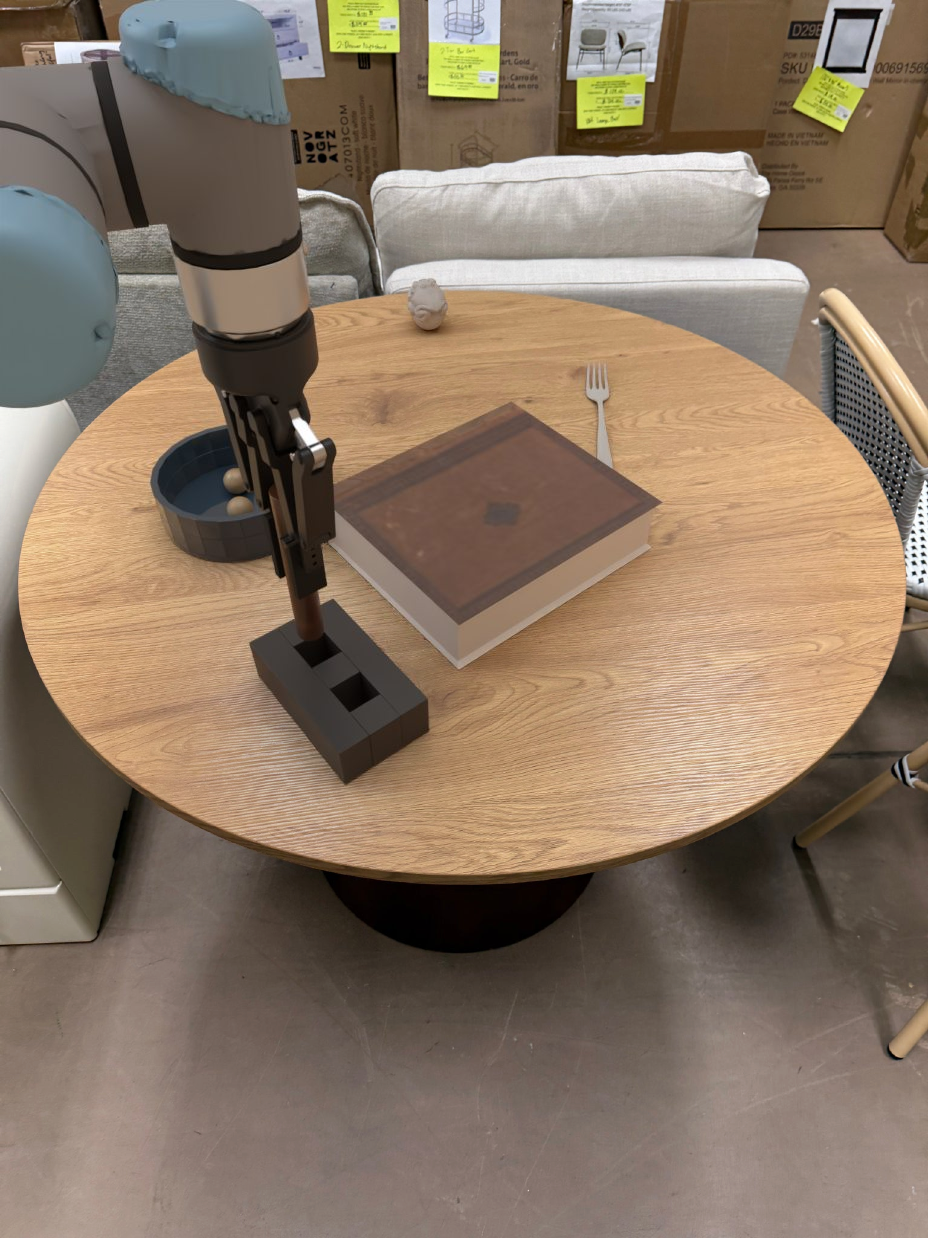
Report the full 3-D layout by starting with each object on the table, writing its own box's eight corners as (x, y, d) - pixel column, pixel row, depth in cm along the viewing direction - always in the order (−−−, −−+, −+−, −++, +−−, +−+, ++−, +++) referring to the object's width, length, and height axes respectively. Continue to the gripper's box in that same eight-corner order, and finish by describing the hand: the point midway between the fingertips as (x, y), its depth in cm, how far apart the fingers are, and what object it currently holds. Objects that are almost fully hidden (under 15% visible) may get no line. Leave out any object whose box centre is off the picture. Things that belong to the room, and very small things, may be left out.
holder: (345, 785, 71) (339, 754, 67) (258, 675, 79) (248, 642, 75) (429, 730, 75) (428, 698, 71) (338, 631, 83) (333, 597, 79)
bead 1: (233, 502, 95) (228, 482, 93) (221, 489, 96) (216, 469, 94) (256, 492, 96) (251, 472, 94) (244, 479, 98) (239, 459, 95)
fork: (592, 477, 100) (594, 466, 98) (584, 371, 116) (585, 360, 115) (618, 479, 100) (621, 467, 98) (606, 372, 116) (608, 361, 115)
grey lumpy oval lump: (436, 312, 127) (435, 268, 122) (456, 332, 123) (456, 287, 118) (400, 320, 125) (398, 276, 120) (419, 341, 121) (418, 296, 116)
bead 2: (237, 532, 91) (232, 511, 89) (225, 518, 93) (219, 497, 91) (261, 521, 93) (256, 500, 90) (248, 507, 94) (243, 487, 92)
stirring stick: (306, 645, 72) (278, 504, 60) (292, 629, 73) (262, 487, 61) (329, 632, 73) (307, 491, 61) (315, 617, 74) (290, 475, 62)
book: (323, 538, 92) (315, 492, 87) (508, 445, 104) (511, 401, 99) (458, 669, 79) (458, 625, 75) (651, 547, 91) (663, 502, 87)
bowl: (208, 585, 87) (195, 544, 82) (139, 502, 96) (124, 460, 92) (346, 518, 94) (341, 477, 90) (271, 447, 103) (262, 406, 99)
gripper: (372, 344, 48) (391, 613, 65) (245, 252, 56) (292, 514, 73) (259, 385, 45) (311, 657, 62) (142, 282, 53) (217, 548, 70)
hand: (301, 579), depth 68 cm, fingers closed on stirring stick, 2 cm apart
